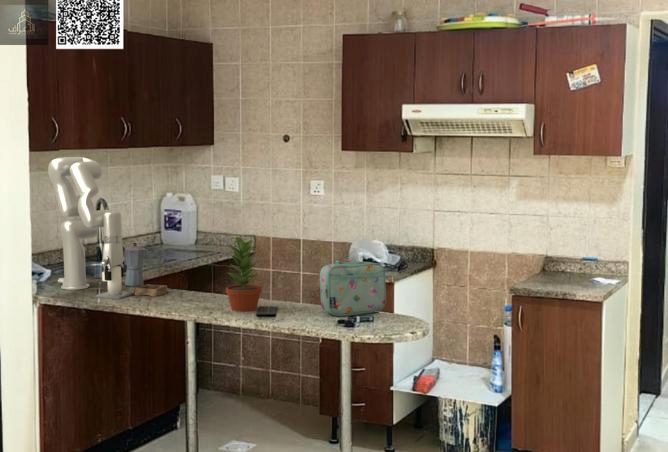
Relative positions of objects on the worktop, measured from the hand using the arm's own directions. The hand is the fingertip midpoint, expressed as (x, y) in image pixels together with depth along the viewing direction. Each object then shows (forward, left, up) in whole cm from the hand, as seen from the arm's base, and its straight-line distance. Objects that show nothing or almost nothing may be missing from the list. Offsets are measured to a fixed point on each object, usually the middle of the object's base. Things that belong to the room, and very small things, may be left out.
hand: (114, 278), depth 435 cm
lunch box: (+112, -5, -8) cm, 112 cm away
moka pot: (-6, +26, -8) cm, 28 cm away
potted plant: (+67, -10, -8) cm, 68 cm away
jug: (-1, 0, -7) cm, 7 cm away
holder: (+13, +9, -8) cm, 18 cm away
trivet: (0, 0, -8) cm, 8 cm away
